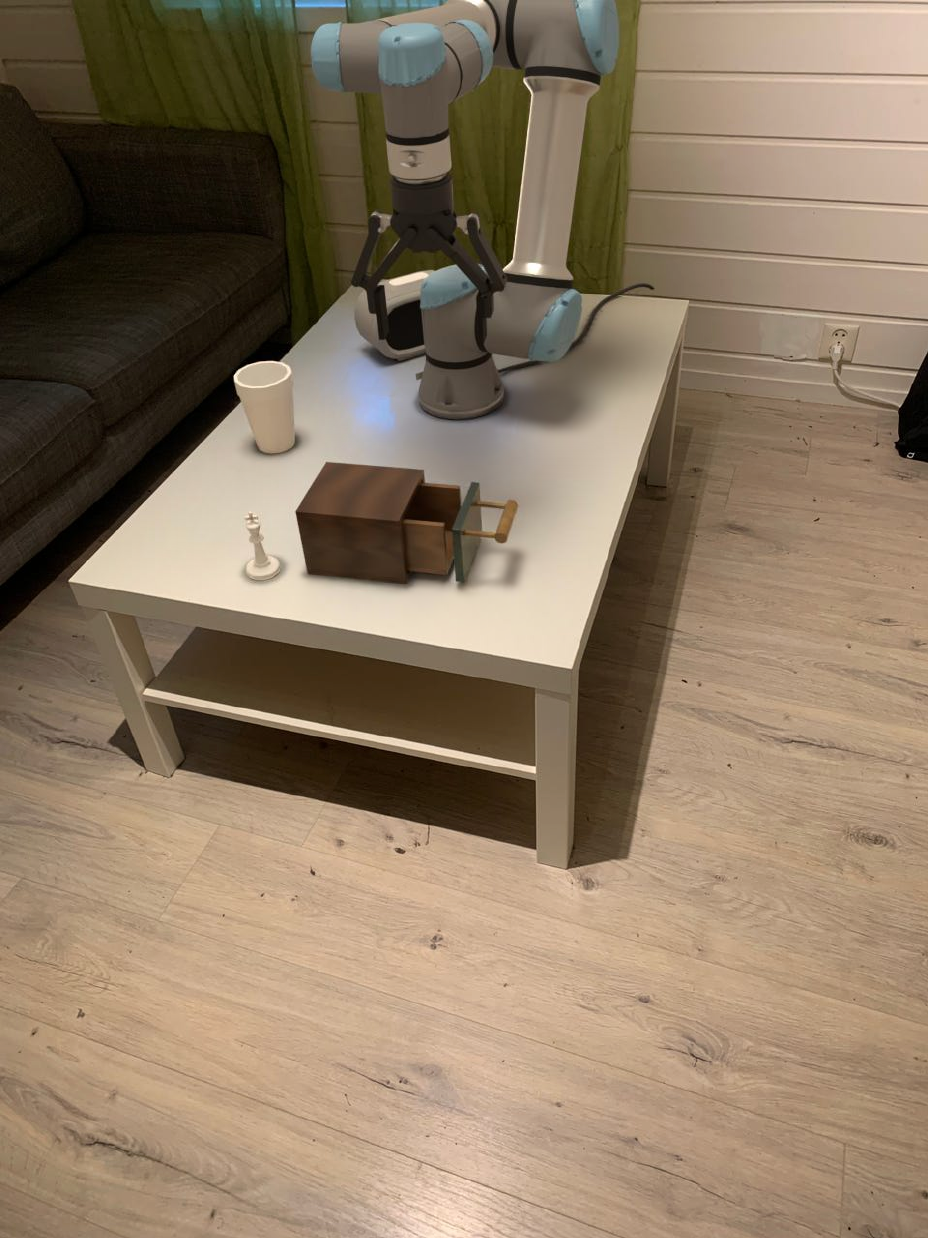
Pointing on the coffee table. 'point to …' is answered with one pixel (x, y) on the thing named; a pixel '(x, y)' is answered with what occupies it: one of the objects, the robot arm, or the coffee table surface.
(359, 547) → the cabinet
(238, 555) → the coffee table surface
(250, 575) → the chess piece
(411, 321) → the alarm clock
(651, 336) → the coffee table surface
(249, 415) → the foam cup
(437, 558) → the drawer
